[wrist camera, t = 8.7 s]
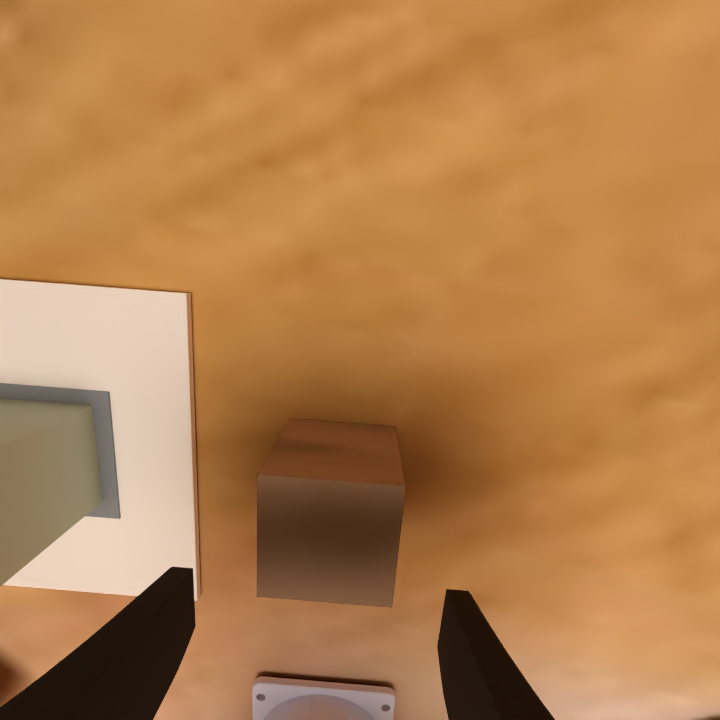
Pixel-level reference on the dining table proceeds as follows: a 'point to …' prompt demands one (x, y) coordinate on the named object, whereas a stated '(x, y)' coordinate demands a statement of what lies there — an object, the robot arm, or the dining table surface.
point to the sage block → (43, 476)
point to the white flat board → (112, 425)
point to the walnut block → (330, 514)
